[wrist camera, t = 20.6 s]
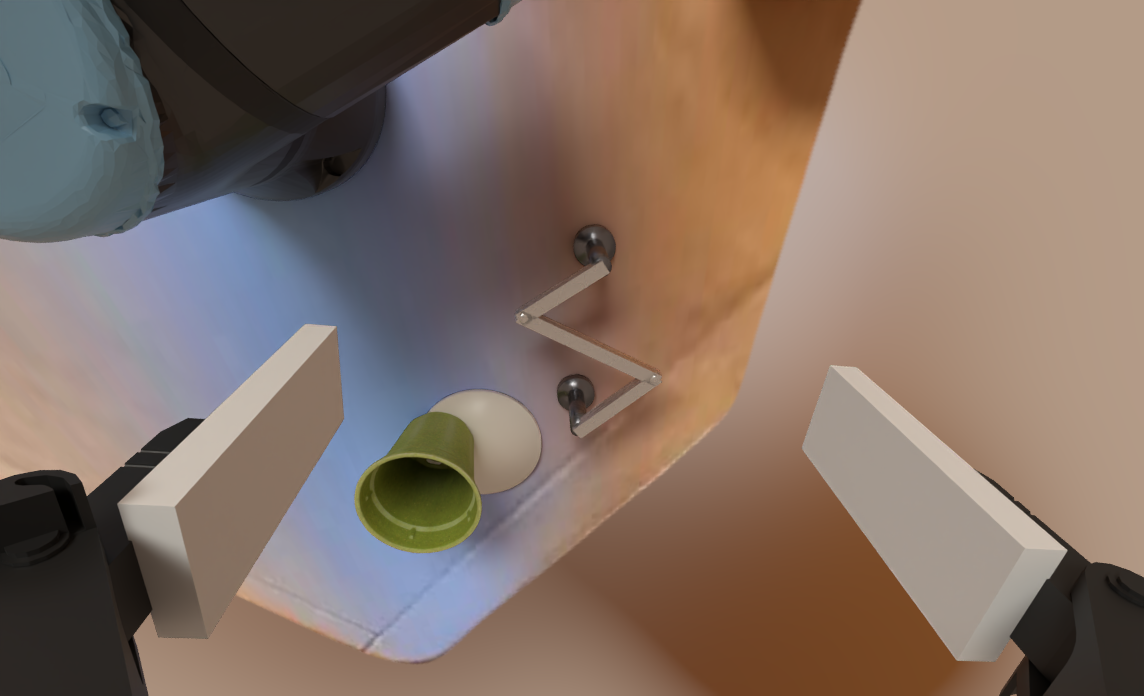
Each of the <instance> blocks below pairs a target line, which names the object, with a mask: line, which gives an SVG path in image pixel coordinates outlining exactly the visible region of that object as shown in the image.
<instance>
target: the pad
mask: <svg viewBox="0 0 1144 696" xmlns="http://www.w3.org/2000/svg"><path fill="white" fill-rule="evenodd" d="M430 412H444V413H448V414H451V415H454V416H456V417H458V418H459V419H461V420H462V421H463V422H464V423H465V424H466V426H467V427H468V429H469V430H470V432H471V434H472V435H473V439H474V480H475V483H476V485H477V487H478V490H479V492H480V494H492V493H497V492H502V491H505V490H508V489H510V488H512V487H514V486H516V485H518V484H519V483H521V482H522V481H523V480H525V479H526V478H527V477H528V476H529V475H530V474H531V473H532V471H533V470H534V468H535V467H536V465H537V463H538V460H539V458H540V453H541V432H540V429H539V426H538V424H537V422H536V419H535V418H534V416H533V415H532V413H531V412H530V411H529V410H528V409H527V408H526V407H525V406H524V405H523V404H522V403H520V402H519V401H517V400H516V399H514V398H512V397H510V396H508V395H506V394H503V393H500V392H497V391H493V390H486V389H471V390H464V391H459V392H456V393H453V394H451V395H449V396H447V397H445V398H443V399H442V400H440V401H439V402H437V403H436V404H435V405H434V406H433V407H432V408H431V409H430V410H429V411H428V413H430ZM427 461H428V462H429V463H433V464H441V462H434V461H432V460H430V459H427Z"/></svg>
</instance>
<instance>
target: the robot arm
mask: <svg viewBox="0 0 1144 696" xmlns="http://www.w3.org/2000/svg"><path fill="white" fill-rule="evenodd" d="M520 1H521V0H0V238H1V239H6V240H11V241H19V242H32V243H49V242H60V241H67V240H72V239H77V238H82V237H86V236H93V235H94V236H99V237H106V236H110V235H112V234H119V233H123V232H125V231H128V230H130V229H132V228H134V227H135V226H137V225H138V224H139V223H140V222H142V221H144V220H147V219H150V218H154V217H157V216H160V215H163V214H166V213H169V212H172V211H176V210H179V209H182V208H185V207H188V206H191V205H195V204H198V203H201V202H204V201H207V200H210V199H214V198H217V197H220V196H223V195H226V194H229V193H233V192H234V193H238V194H241V195H244V196H248V197H252V198H256V199H262V200H270V201H291V200H300V199H305V198H309V197H313V196H316V195H319V194H321V193H323V192H326V191H328V190H330V189H333V188H335V187H337V186H339V185H340V184H342V183H344V182H345V181H347V180H348V179H349V178H351V177H352V176H353V175H354V174H355V173H356V172H358V171H359V170H360V168H361V167H362V166H363V165H364V164H365V162H366V161H367V160H368V158H369V157H370V155H371V154H372V152H373V150H374V148H375V146H376V144H377V142H378V139H379V137H380V133H381V130H382V126H383V122H384V116H385V106H386V90H385V85H386V84H388V83H389V82H391V81H393V80H394V79H396V78H397V77H399V76H401V75H402V74H404V73H406V72H407V71H409V70H410V69H412V68H414V67H415V66H417V65H418V64H420V63H422V62H423V61H425V60H427V59H428V58H430V57H431V56H433V55H435V54H436V53H438V52H439V51H441V50H443V49H444V48H446V47H448V46H449V45H451V44H452V43H454V42H456V41H457V40H459V39H461V38H462V37H464V36H465V35H467V34H469V33H470V32H472V31H473V30H475V29H477V28H478V27H480V26H482V25H483V24H486V25H488V26H493V25H496V24H497V23H499V22H501V21H502V20H503V18H504V17H505V16H506V15H507V14H508V12H509V11H510V9H511V7H513V6H514V5H516V4H517V3H518V2H520ZM343 420H344V413H343V400H342V387H341V375H340V362H339V349H338V337H337V326H326V325H314V324H305V325H304V326H303V327H301V328H300V329H299V330H298V331H297V332H296V333H295V334H294V335H293V336H292V337H291V338H290V339H289V340H288V341H287V342H286V343H285V344H284V345H283V346H282V347H281V348H280V349H278V350H277V351H276V352H275V353H274V354H273V355H272V356H271V357H270V358H269V359H268V360H267V361H266V362H265V363H264V364H263V365H262V366H261V367H260V368H259V369H258V370H257V371H255V372H254V373H253V374H252V375H251V376H250V377H249V378H248V379H247V380H246V381H245V382H244V383H243V384H242V385H241V386H240V387H239V388H238V389H237V390H236V391H235V392H234V393H232V394H231V395H230V396H229V397H228V398H227V399H226V400H225V401H224V402H223V403H222V404H221V405H220V406H219V407H218V408H217V409H216V410H215V411H214V412H213V413H212V414H211V415H209V416H208V417H207V418H206V419H193V418H187V419H185V420H183V421H181V422H179V423H177V424H175V425H173V426H171V427H169V428H167V429H165V430H163V431H161V432H160V433H159V434H158V435H156V436H155V437H154V438H153V439H152V440H151V441H150V442H148V443H147V444H146V445H145V446H144V447H143V448H142V449H141V452H140V453H139V452H137V453H136V454H135V455H134V456H133V457H131V458H130V459H129V460H128V461H127V462H126V463H125V466H124V467H120V468H119V469H118V470H117V471H115V472H114V473H113V474H112V475H111V476H110V477H109V478H107V479H106V480H105V481H104V482H103V483H102V484H101V485H99V486H98V487H97V488H96V489H95V490H94V491H93V492H91V493H90V494H89V495H88V496H86V493H85V490H84V487H83V484H82V482H81V481H80V479H79V478H78V477H77V476H76V474H73V473H69V472H66V471H62V470H39V471H34V472H28V473H23V474H18V475H14V476H11V477H8V478H5V479H2V480H0V696H148V691H147V687H146V684H145V679H144V675H143V671H142V666H141V661H140V657H139V653H138V649H137V645H136V643H135V639H134V636H133V635H134V633H135V632H136V631H137V629H138V628H139V627H140V625H141V624H142V623H143V621H144V620H145V619H146V617H147V616H148V615H149V614H150V612H151V615H152V618H153V622H154V625H155V628H156V632H157V635H158V637H164V638H167V637H168V638H199V639H208V638H209V636H210V635H211V633H212V632H213V630H214V628H215V627H216V625H217V624H218V622H219V620H220V619H221V617H222V615H223V614H224V612H225V610H226V609H227V607H228V606H229V604H230V602H231V601H232V599H233V598H234V596H235V594H236V593H237V591H238V590H239V588H240V586H241V585H242V583H243V581H244V580H245V578H246V577H247V575H248V573H249V572H250V570H251V569H252V567H253V565H254V564H255V562H256V560H257V559H258V557H259V556H260V554H261V552H262V551H263V549H264V547H265V546H266V544H267V543H268V541H269V539H270V538H271V536H272V535H273V533H274V531H275V530H276V528H277V526H278V525H279V523H280V522H281V520H282V518H283V517H284V515H285V514H286V512H287V510H288V509H289V507H290V505H291V504H292V502H293V501H294V499H295V497H296V496H297V494H298V492H299V491H300V489H301V488H302V486H303V484H304V483H305V481H306V480H307V478H308V476H309V475H310V473H311V471H312V470H313V468H314V467H315V465H316V463H317V462H318V460H319V459H320V457H321V455H322V454H323V452H324V450H325V449H326V447H327V446H328V444H329V442H330V441H331V439H332V437H333V436H334V434H335V433H336V431H337V429H338V428H339V426H340V425H341V423H342V421H343ZM802 449H803V451H804V452H805V454H806V455H807V456H808V458H809V459H810V460H811V462H812V463H813V464H814V466H815V467H816V468H817V470H818V471H819V473H820V474H821V475H822V477H823V478H824V479H825V481H826V482H827V484H828V485H829V486H830V488H831V489H832V490H833V492H834V493H835V494H836V496H837V497H838V499H839V500H840V501H841V503H842V504H843V505H844V507H845V508H846V510H847V511H848V512H849V514H850V515H851V516H852V518H853V519H854V520H855V522H856V523H857V525H858V526H859V527H860V529H861V530H862V531H863V533H864V534H865V536H866V537H867V538H868V540H869V541H870V542H871V544H872V545H873V546H874V548H875V549H876V551H877V552H878V553H879V555H880V556H881V557H882V559H883V560H884V562H885V563H886V564H887V566H888V567H889V568H890V570H891V571H892V572H893V574H894V575H895V577H896V578H897V579H898V581H899V582H900V583H901V585H902V586H903V587H904V589H905V590H906V591H907V593H908V594H909V596H910V597H911V598H912V600H913V601H914V603H915V604H916V605H917V606H918V608H919V609H920V611H921V612H922V613H923V615H924V616H925V617H926V619H927V620H928V622H929V623H930V624H931V626H932V627H933V628H934V630H935V631H936V632H937V634H938V635H939V636H940V638H941V639H942V641H943V642H944V644H945V645H946V646H947V648H948V649H949V650H950V652H951V653H952V654H953V656H954V657H955V659H956V660H957V661H958V660H959V661H992V662H995V661H996V660H997V658H998V657H999V655H1000V654H1001V652H1002V651H1003V649H1004V648H1005V646H1006V644H1007V643H1008V641H1009V640H1010V638H1011V639H1012V640H1013V641H1014V642H1015V643H1016V645H1017V646H1018V647H1019V648H1020V649H1021V650H1022V651H1023V653H1024V654H1025V657H1024V658H1023V660H1022V661H1021V662H1020V664H1019V665H1018V667H1017V668H1016V670H1015V671H1014V673H1013V674H1012V676H1011V677H1010V679H1009V680H1008V681H1007V683H1006V684H1005V686H1004V687H1003V689H1002V690H1001V693H1000V695H999V696H1010V695H1013V694H1017V696H1144V577H1142V576H1140V575H1138V574H1135V573H1134V572H1132V571H1130V570H1127V569H1124V568H1121V567H1118V566H1115V565H1112V564H1106V563H1098V562H1095V563H1092V564H1091V563H1090V562H1089V561H1087V560H1086V559H1085V558H1084V557H1083V556H1082V555H1080V554H1079V553H1078V552H1077V551H1076V550H1075V549H1073V548H1072V547H1071V546H1070V545H1069V544H1068V543H1066V542H1065V541H1064V540H1063V539H1061V537H1059V536H1058V535H1057V534H1056V533H1055V532H1054V531H1052V530H1051V529H1050V528H1049V527H1048V526H1047V525H1045V524H1044V523H1043V522H1042V521H1040V520H1039V519H1038V518H1037V517H1036V516H1034V515H1031V514H1030V511H1029V510H1028V509H1026V508H1025V507H1024V506H1023V505H1022V504H1021V503H1020V502H1018V501H1014V497H1012V496H1011V495H1010V494H1009V493H1008V492H1007V491H1006V490H1004V489H1003V488H1002V487H1001V486H1000V485H998V484H997V483H996V482H995V481H994V480H992V479H990V478H989V477H987V476H985V475H984V474H982V473H980V472H978V471H977V470H975V469H973V468H972V467H971V466H970V465H969V464H967V463H966V462H965V461H964V460H963V459H962V458H961V457H959V456H958V455H957V454H956V453H955V452H954V451H952V450H951V449H950V448H949V447H948V446H947V445H946V444H944V443H943V442H942V441H941V440H940V439H939V438H937V437H936V436H935V435H934V434H933V433H932V432H930V431H929V430H928V429H927V428H926V427H925V426H924V425H922V424H921V423H920V422H919V421H918V420H917V419H915V418H914V417H913V416H912V415H911V414H910V413H909V412H908V411H906V410H905V409H904V408H903V407H902V406H900V405H899V404H898V403H897V402H896V401H895V400H893V399H892V398H891V397H890V396H889V395H888V394H887V393H886V392H884V391H883V390H882V389H881V388H880V387H879V386H878V385H876V384H875V383H874V382H873V381H872V380H871V379H869V378H868V377H867V376H866V375H865V374H864V373H863V372H861V371H860V370H859V369H858V368H857V367H846V366H833V365H830V367H829V370H828V373H827V376H826V379H825V382H824V385H823V388H822V391H821V394H820V396H819V399H818V402H817V405H816V408H815V411H814V414H813V417H812V420H811V423H810V426H809V429H808V432H807V434H806V437H805V440H804V443H803V446H802Z"/></svg>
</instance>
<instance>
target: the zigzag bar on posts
mask: <svg viewBox="0 0 1144 696" xmlns="http://www.w3.org/2000/svg"><path fill="white" fill-rule="evenodd" d="M573 247H574V253H575V256H576V258H577V259H578V261H579V262H580V263H581V264H583V265H584V266H585V267H584V268H582V269H580V270H579V271H577V272H576V273H574V274H572V275H571V276H569V277H568V278H566V279H564V280H563V281H561V282H560V283H558V284H557V285H555V286H553V287H552V288H550V289H549V290H547V291H545V292H544V293H542V294H541V295H539V296H537V297H536V298H534V299H533V300H531V301H529V302H528V303H526V304H525V305H523V306H522V307H520V308H518V309H517V310H516V312H515V319H516V323H518V324H520V325H522V326H524V327H526V328H529V329H531V330H533V331H535V332H537V333H539V334H541V335H544V336H546V337H548V338H550V339H552V340H554V341H557V342H559V343H561V344H563V345H565V346H567V347H570V348H572V349H574V350H576V351H578V352H580V353H583V354H585V355H587V356H589V357H591V358H593V359H596V360H598V361H600V362H602V363H604V364H606V365H609V366H611V367H613V368H615V369H617V370H619V371H622V372H624V373H626V374H628V375H630V376H632V377H635V379H634V380H633V381H631V382H630V383H628V384H627V385H626V386H624V387H623V388H621V389H620V390H618V391H617V392H616V393H614V394H613V395H611V396H610V397H609V398H607V399H606V400H604V401H603V402H602V403H600V404H599V405H597V406H596V407H594V408H593V409H592V410H590V411H589V412H587V413H586V408H587V407H588V406H590V405H591V403H592V402H593V400H594V388H593V384H592V383H591V381H590V380H589V379H588V378H586V377H585V376H582V375H570V376H567V377H565V378H564V379H563V380H562V381H561V382H560V383H559V385H558V388H557V397H558V401H559V403H560V404H561V405H562V406H563V407H564V408H565V409H567V410H569V416H570V428H571V432H572V434H573V435H575V436H579V437H580V438H583V437H584V436H586V435H587V434H588V433H590V432H591V431H593V430H594V429H596V428H597V427H598V426H600V425H601V424H603V423H604V422H606V421H607V420H608V419H610V418H611V417H613V416H614V415H616V414H617V413H619V412H620V411H621V410H623V409H624V408H626V407H627V406H629V405H630V404H631V403H633V402H634V401H636V400H637V399H639V398H640V397H641V396H643V395H644V394H646V393H647V392H649V391H650V390H652V389H653V388H654V387H656V386H657V385H659V384H660V383H662V380H661V379H662V375H661V373H660V370H658V369H656V368H654V367H652V366H650V365H648V364H646V363H643V362H641V361H639V360H637V359H635V358H633V357H631V356H629V355H626V354H624V353H622V352H620V351H618V350H616V349H614V348H612V347H610V346H607V345H605V344H603V343H601V342H599V341H597V340H595V339H593V338H590V337H588V336H586V335H584V334H582V333H580V332H578V331H576V330H574V329H571V328H569V327H567V326H565V325H563V324H561V323H559V322H557V321H554V320H552V319H550V318H548V317H546V316H544V315H543V314H544V313H546V312H548V311H549V310H551V309H552V308H554V307H556V306H557V305H559V304H560V303H562V302H564V301H565V300H567V299H569V298H570V297H572V296H573V295H575V294H577V293H578V292H580V291H581V290H583V289H585V288H586V287H588V286H590V285H591V284H593V283H594V282H596V281H598V280H599V279H601V278H602V277H605V276H607V275H608V274H609V273H610V271H611V269H612V265H611V262H610V260H611V259H612V258H613V256H614V253H615V249H616V244H615V240H614V238H613V236H612V234H611V232H610V231H609V230H608V229H607V228H605V227H603V226H601V225H596V224H593V225H588V226H585V227H584V228H582V229H581V230H580V231H579V232H578V233H577V235H576V236H575V239H574V243H573Z"/></svg>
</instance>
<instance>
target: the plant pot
mask: <svg viewBox="0 0 1144 696" xmlns="http://www.w3.org/2000/svg"><path fill="white" fill-rule="evenodd" d="M427 459H430V460H432V461H434V462H441V464H433V463H429V462H428V461H427ZM354 500H355V508H356V511H357V514H358V516H359V519H360V521H361V522H362V524H363V525H364V526H365V528H366V529H367V530H368V531H369V532H370V533H371V534H372V535H373V536H374V537H375V538H377V539H378V540H380V541H381V542H383V543H385V544H387V545H389V546H391V547H393V548H396V549H399V550H402V551H407V552H412V553H432V552H439V551H443V550H446V549H449V548H452V547H454V546H456V545H458V544H459V543H461V542H463V541H464V540H465V539H467V538H468V537H469V536H470V535H471V534H472V532H473V531H474V530H475V528H476V527H477V525H478V523H479V520H480V517H481V512H482V501H481V495H480V492H479V490H478V487H477V485H476V483H475V480H474V439H473V435H472V434H471V432H470V430H469V429H468V427H467V426H466V424H465V423H464V422H463V421H462V420H461V419H459V418H458V417H456V416H454V415H451V414H448V413H444V412H430V413H427V414H424V415H422V416H420V417H418V418H415V419H414V420H413V421H411V422H410V424H409V425H408V426H407V428H406V429H405V430H404V432H403V433H402V435H401V436H400V437H399V439H398V440H397V442H396V443H395V444H394V446H393V447H392V448H391V450H390V451H389V453H388V454H387V455H386V456H385V457H383V458H381V459H380V460H378V461H376V462H375V463H373V464H372V465H371V466H370V467H369V468H368V469H367V470H366V471H365V472H364V473H363V474H362V476H361V478H360V479H359V481H358V483H357V486H356V490H355V498H354Z"/></svg>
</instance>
